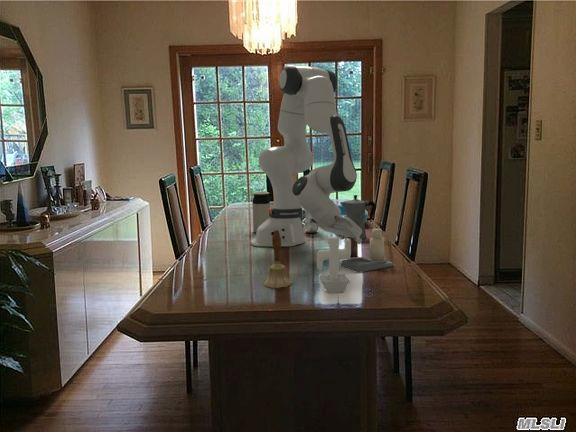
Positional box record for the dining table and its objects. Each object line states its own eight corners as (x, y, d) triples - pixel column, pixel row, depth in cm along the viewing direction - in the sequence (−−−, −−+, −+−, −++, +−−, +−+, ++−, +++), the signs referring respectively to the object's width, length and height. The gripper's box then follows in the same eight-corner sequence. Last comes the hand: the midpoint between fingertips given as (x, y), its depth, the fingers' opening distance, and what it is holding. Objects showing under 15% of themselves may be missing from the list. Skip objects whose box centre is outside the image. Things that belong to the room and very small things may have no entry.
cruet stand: (357, 272, 161) (357, 235, 159) (340, 266, 169) (340, 231, 167) (393, 266, 168) (393, 230, 166) (375, 260, 176) (375, 226, 174)
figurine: (315, 287, 145) (314, 235, 143) (348, 286, 146) (347, 234, 144) (319, 295, 138) (318, 240, 136) (354, 293, 139) (353, 238, 137)
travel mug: (268, 232, 234) (267, 193, 231) (251, 232, 235) (250, 193, 233) (272, 229, 242) (271, 191, 239) (255, 229, 243) (254, 191, 240)
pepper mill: (346, 258, 181) (345, 229, 180) (343, 255, 185) (343, 227, 184) (359, 257, 181) (358, 229, 180) (356, 254, 186) (356, 227, 184)
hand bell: (295, 286, 147) (294, 231, 145) (267, 289, 145) (265, 233, 142) (287, 279, 155) (286, 227, 153) (260, 282, 153) (258, 229, 150)
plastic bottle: (320, 231, 234) (319, 187, 231) (316, 234, 228) (315, 189, 225) (306, 231, 236) (306, 187, 233) (302, 233, 230) (301, 189, 227)
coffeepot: (337, 238, 217) (337, 195, 215) (343, 234, 226) (343, 193, 223) (373, 240, 211) (373, 196, 209) (378, 236, 220) (378, 194, 218)
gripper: (351, 211, 168) (374, 237, 174) (317, 205, 186) (340, 229, 192) (340, 225, 167) (364, 251, 173) (307, 218, 184) (330, 242, 190)
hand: (351, 239), depth 182 cm, fingers open, 8 cm apart
